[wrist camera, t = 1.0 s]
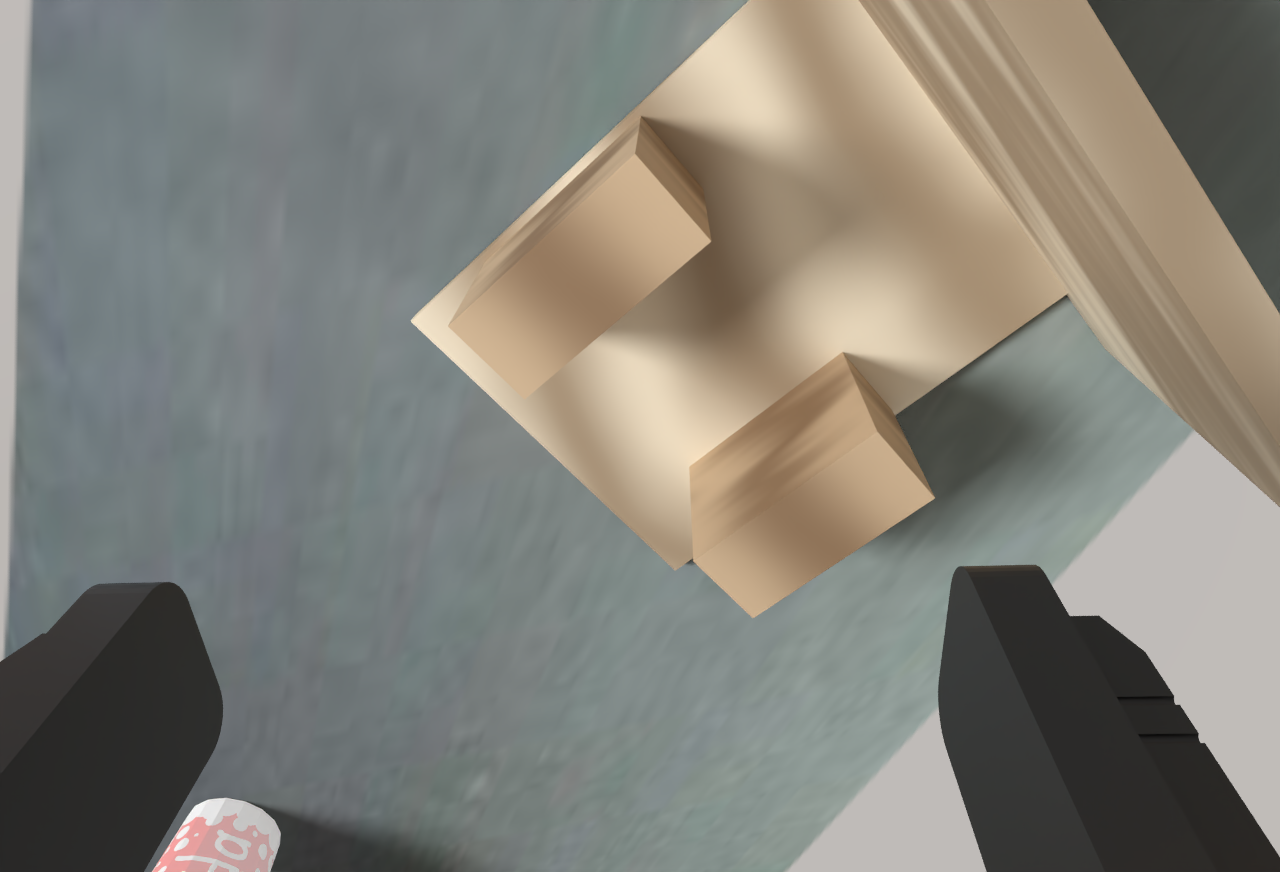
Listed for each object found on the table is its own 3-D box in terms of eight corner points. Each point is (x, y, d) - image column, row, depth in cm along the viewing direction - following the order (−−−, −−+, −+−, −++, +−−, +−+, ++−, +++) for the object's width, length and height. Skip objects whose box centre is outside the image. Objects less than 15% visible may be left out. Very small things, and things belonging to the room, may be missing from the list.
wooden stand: (781, -185, 25) (892, -316, 13) (1136, 327, 32) (1435, 566, 20) (349, 253, 31) (142, 449, 19) (722, 606, 38) (749, 922, 26)
